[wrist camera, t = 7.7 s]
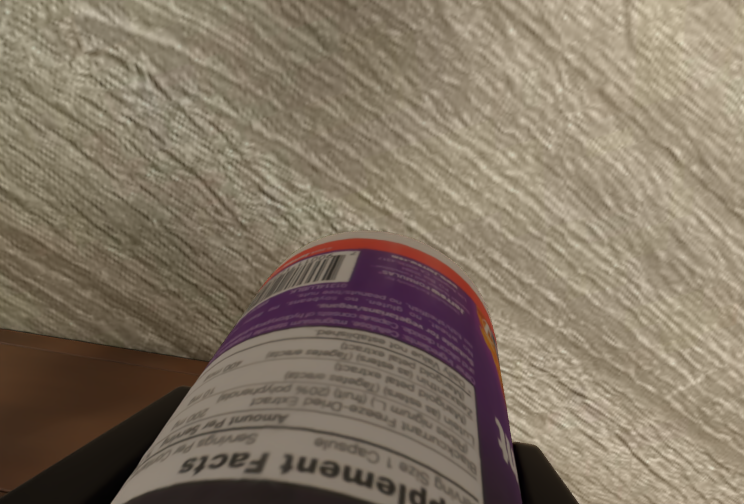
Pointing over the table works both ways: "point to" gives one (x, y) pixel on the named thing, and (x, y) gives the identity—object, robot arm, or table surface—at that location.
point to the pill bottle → (345, 390)
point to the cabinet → (72, 396)
